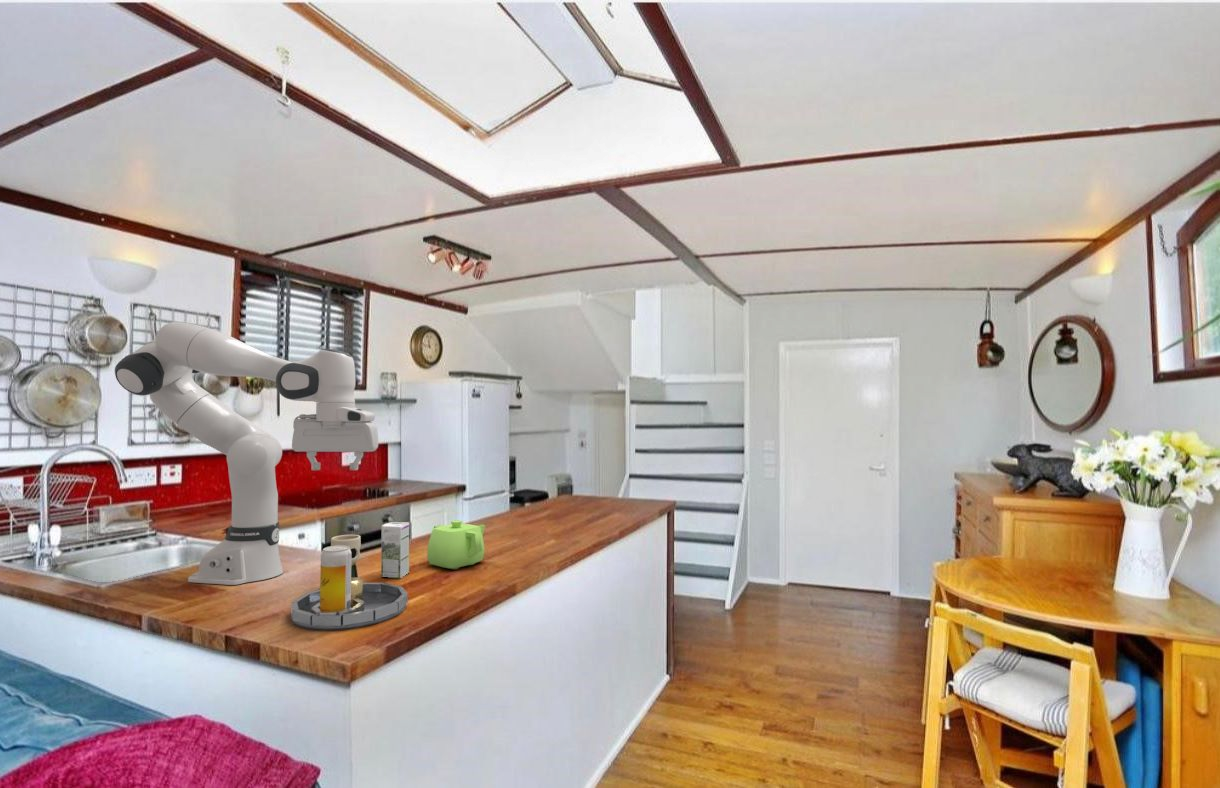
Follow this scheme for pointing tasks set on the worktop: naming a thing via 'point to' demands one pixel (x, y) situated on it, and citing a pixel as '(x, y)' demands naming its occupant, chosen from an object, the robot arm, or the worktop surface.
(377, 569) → the worktop surface
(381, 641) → the worktop surface
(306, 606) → the tray
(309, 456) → the robot arm
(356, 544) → the character mug
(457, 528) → the teapot
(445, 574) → the worktop surface
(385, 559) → the syrup box
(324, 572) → the beer can
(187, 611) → the worktop surface
